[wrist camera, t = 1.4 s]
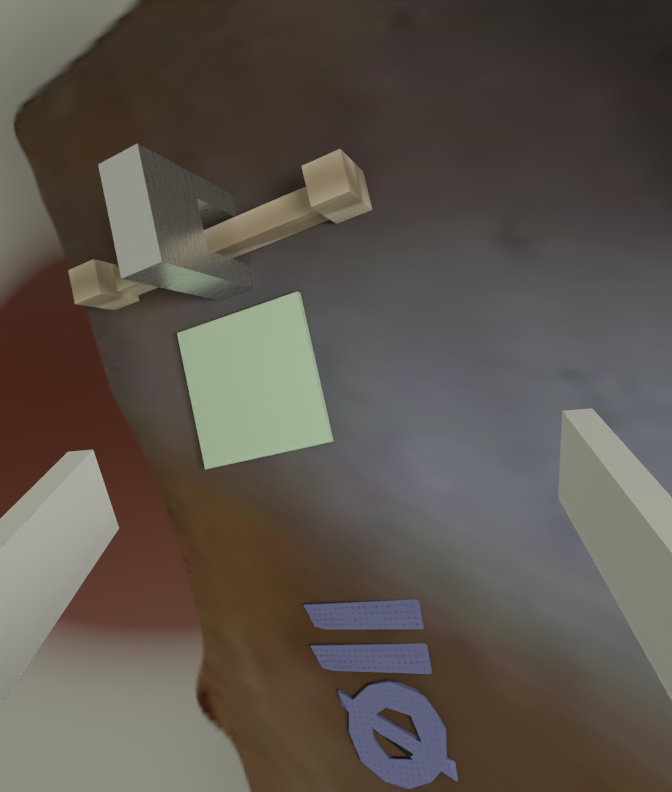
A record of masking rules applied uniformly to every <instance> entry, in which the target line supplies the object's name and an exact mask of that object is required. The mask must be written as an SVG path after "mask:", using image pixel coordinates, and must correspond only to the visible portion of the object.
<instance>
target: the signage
mask: <svg viewBox="0 0 672 792" xmlns="http://www.w3.org/2000/svg"><path fill="white" fill-rule="evenodd" d="M303 606H304V607H305V609H306V611H307V613H308V615H309V617H310V619H311V621H312V622H313V624H314V626H315V627H319V628H323V629H423V628H424V626H423V620H422V615H421V610H420V604H419V600H388V601H362V602H337V603H311V604H304V605H303ZM311 648H312V650H313V652H314V654H315V656H316V657H317V659H318V661H319V663H320V665H321V667H322V668H325V669H329V670H333V671H358V672H387V673H415V674H431V673H432V669H431V664H430V658H429V653H428V648H427V645H426V644H312V645H311ZM338 694H339V697H340V701H341V706H343V707H344V708H345V709H346V710H347V711H348V712H349V733H350V736H351V738H352V741H353V743H354V747H355V748H356V750H357V752H358V755H359V757H360V760H361V762H362V763H363V764H365V765H366V766H367V767H368V768H369V769H371V770H372V771H373V772H374V773H375V774H376V775H378V776H379V777H380V778H381V779H382V780H384V781H385V782H388V783H391V784H394V785H398V786H401V787H405V788H408V789H411V788H414V787H417V786H420V785H424V784H427V783H430V782H432V781H433V780H434V778H435V777H436V776H437V775H438V774H439V773H440V772H443V773H444V774H446V775H448V776H449V777H451V778H452V779H454V780H455V781H458V775H457V770H456V765H455V762H454V761H453V760H451V759H450V758H448V757H447V744H446V728H445V726H444V724H443V723H442V721H441V719H440V717H439V716H438V714H437V713H436V711H435V710H434V708H433V707H432V706H431V704H430V703H429V701H428V700H427V698H426V697H425V696H424V695H422V694H421V693H420V692H419V691H417V690H416V689H414V688H412V687H409V686H407V685H404V684H402V683H399V682H395V681H391V680H384V681H379V682H375V683H372V684H369V685H367V686H366V687H365V688H363V689H362V690H361V691H360V692H359V693H358V694H357V696H356V697H355V698H352V697H351V696H349V695H347V694H346V693H344V692H342V691H341V690H338ZM386 707H387V708H390V709H393V710H395V711H398V712H401V713H404V714H407V715H410V716H411V718H412V720H413V723H414V725H415V727H416V730H417V732H418V735H419V737H420V738H418V737H417V736H415V735H413V734H411V733H410V732H408V731H406V730H405V729H403V728H401V727H399V726H398V725H396V724H394V723H393V722H391V721H389V720H388V719H386V718H384V717H383V716H381V715H379V714H378V713H379V712H380V711H382V710H383V709H385V708H386ZM373 729H375V730H376V731H377V732H379V733H380V734H381V735H382V736H384V737H385V738H386V739H387V740H389V741H390V742H391V743H393V744H394V745H395V746H396V747H398V748H399V749H400V750H402V751H403V752H404V753H405V754H407V755H408V756H409V757H410V758H394V757H391V756H389V755H387V753H386V752H385V751H384V750H383V748H382V747H381V746H380V745H379V743H378V742H377V741H376V739H375V738H374V734H373Z"/></svg>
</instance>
